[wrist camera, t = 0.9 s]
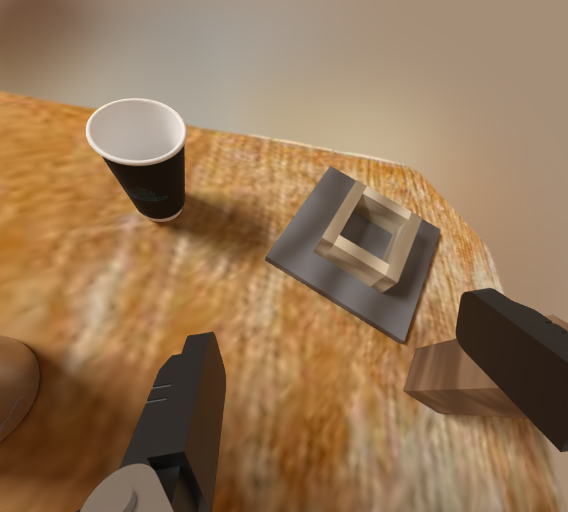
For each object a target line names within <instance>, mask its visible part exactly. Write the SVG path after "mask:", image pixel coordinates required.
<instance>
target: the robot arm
mask: <svg viewBox="0 0 568 512" xmlns="http://www.w3.org/2000/svg"><path fill="white" fill-rule="evenodd" d="M456 338H457V341H458V343H459V345H460V347H461V348H462V349H463V351H464V352H465V353H466V354H467V355H468V356H469V357H470V358H471V359H472V360H473V361H474V362H475V363H476V364H477V365H478V366H479V367H480V368H481V369H482V370H483V371H484V372H485V374H486V375H487V376H488V377H489V378H490V379H491V380H492V381H493V382H494V383H495V384H496V385H497V386H498V387H499V388H500V389H501V390H502V391H503V392H504V393H505V394H506V395H507V396H508V398H509V399H510V400H511V401H512V402H513V403H514V404H515V405H516V406H517V407H518V408H519V409H520V410H521V411H522V412H523V413H524V414H525V415H526V416H527V417H528V418H529V419H530V420H531V422H532V423H533V424H534V425H535V426H536V427H537V428H538V429H539V430H540V431H541V432H542V433H543V434H544V435H545V436H546V437H547V438H548V439H549V440H550V441H551V442H552V443H553V444H554V445H555V447H556V448H557V449H558V450H559V451H560V452H565V451H568V331H567V330H566V329H564V328H562V327H561V326H559V325H558V324H556V323H554V324H553V323H552V321H551V320H550V319H548V318H547V317H545V316H543V315H542V314H540V313H538V312H537V311H535V310H534V309H531V308H529V307H526V306H524V305H521V304H519V303H516V302H514V301H512V300H510V299H509V298H507V297H506V296H504V295H503V294H501V293H499V292H498V291H496V290H495V289H492V288H486V289H480V290H474V291H468V292H464V293H463V294H462V296H461V300H460V306H459V312H458V318H457V325H456ZM39 380H40V371H39V364H38V362H37V359H36V357H35V355H34V354H33V352H32V351H31V350H30V349H29V348H28V347H27V346H26V345H24V344H23V343H21V342H20V341H17V340H14V339H11V338H8V337H4V336H1V335H0V442H1V441H2V440H3V439H5V438H6V437H7V436H8V435H9V434H10V433H11V432H12V431H13V430H14V429H15V428H16V427H17V426H18V425H19V423H20V422H21V421H22V420H23V418H24V417H25V416H26V414H27V413H28V411H29V409H30V407H31V406H32V404H33V402H34V400H35V397H36V394H37V391H38V388H39ZM225 393H226V374H225V368H224V364H223V361H222V357H221V354H220V350H219V347H218V343H217V340H216V336H215V334H214V332H208V333H202V334H195V335H189V336H188V337H187V339H186V342H185V345H184V348H183V351H182V354H178V355H172V356H171V357H170V358H169V359H168V361H167V362H166V363H165V364H164V365H163V366H162V368H161V369H160V370H159V372H158V375H157V377H156V380H155V382H154V385H153V389H152V390H151V392H150V395H149V397H148V399H147V404H145V407H144V409H143V412H142V414H141V417H140V419H139V422H138V424H137V427H136V429H135V432H134V434H133V437H132V439H131V442H130V444H129V446H128V449H127V451H126V454H125V456H124V459H123V461H122V463H121V466H120V468H119V469H118V470H117V471H115V472H114V473H112V474H111V475H110V476H108V477H107V478H106V479H105V480H103V481H102V482H101V483H100V484H99V485H98V486H97V487H96V489H95V490H94V491H93V492H92V493H91V494H90V496H89V497H88V499H87V500H86V502H85V503H84V505H83V507H82V509H80V510H78V511H77V512H212V507H213V498H214V489H215V480H216V472H217V463H218V454H219V445H220V437H221V428H222V419H223V410H224V402H225Z"/></svg>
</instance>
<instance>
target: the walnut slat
mask: <svg viewBox="0 0 568 512" xmlns="http://www.w3.org/2000/svg"><path fill="white" fill-rule="evenodd" d="M545 317H547V318H548V319H550V320H551V321H552V323H553V324H554V323H556V324H558V325H559V326H561V327H562V328H564V329H566V330H567V331H568V324H567V323H566V322H564V321H562V320H561V319H559V318H557V317H556V316H554V315H549V316H545ZM404 392H406V393H407V394H409V395H410V396H412V397H414V398H415V399H417V400H418V401H420V402H421V403H423V404H425V405H426V406H428V407H429V408H431V409H433V410H434V411H436V412H438V413H452V414H466V415H480V416H495V417H509V418H523V419H529V418H528V417H527V416H526V415H525V414H524V413H523V412H522V411H521V410H520V409H519V408H518V407H517V406H516V405H515V404H514V403H513V402H512V401H511V400H510V399H509V398H508V396H507V395H506V394H505V393H504V392H503V391H502V390H501V389H500V388H499V387H498V386H497V385H496V384H495V383H494V382H493V381H492V380H491V379H490V378H489V377H488V376H487V375H486V374H485V372H484V371H483V370H482V369H481V368H480V367H479V366H478V365H477V364H476V363H475V362H474V361H473V360H472V359H471V358H470V357H469V356H468V355H467V354H466V353H465V352H464V351H463V349H462V348H461V347H460V345H459V343H458V341H457V339H453V340H449V341H445V342H441V343H437V344H433V345H429V346H425V347H421V348H417V349H416V350H415V354H414V357H413V360H412V364H411V367H410V371H409V374H408V377H407V381H406V384H405V387H404Z"/></svg>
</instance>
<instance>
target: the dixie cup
mask: <svg viewBox="0 0 568 512" xmlns="http://www.w3.org/2000/svg"><path fill="white" fill-rule="evenodd" d="M86 136H87V139H88V142H89V144H90V145H91V147H92V148H93V149H94V150H95V151H96V152H97V153H98V154H100V155H101V156H102V157H103V159H104V160H105V162H106V163H107V165H108V166H109V168H110V169H111V171H112V172H113V174H114V175H115V177H116V178H117V180H118V181H119V183H120V184H121V186H122V187H123V188H124V190H125V191H126V193H127V194H128V196H129V197H130V199H131V200H132V202H133V203H134V205H135V206H136V208H137V209H138V211H139V212H140V213H142V214H143V215H144V216H145V217H147V218H148V219H150V220H152V221H156V222H166V221H170V220H172V219H174V218H176V217H177V216H178V215H179V214H180V213H181V211H182V208H183V205H184V202H185V157H184V144H185V142H186V138H187V128H186V125H185V122H184V120H183V119H182V117H181V116H180V115H179V114H178V113H177V112H176V111H174V110H173V109H172V108H170V107H168V106H166V105H164V104H162V103H159V102H156V101H153V100H147V99H138V98H132V99H122V100H118V101H114V102H111V103H108V104H106V105H104V106H102V107H101V108H99V109H98V110H97V111H95V112H94V113H93V114H92V116H91V117H90V119H89V120H88V122H87V126H86Z"/></svg>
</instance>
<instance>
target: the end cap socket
mask: <svg viewBox="0 0 568 512" xmlns="http://www.w3.org/2000/svg"><path fill="white" fill-rule="evenodd" d="M439 233H440V229H439V228H437V227H435V226H433V225H432V224H430V223H428V222H427V221H425V220H423V219H422V218H421V217H420V216H418V215H416V214H415V213H413V212H411V211H409V210H408V209H406V208H404V207H402V206H401V205H399V204H397V203H395V202H394V201H392V200H390V199H389V198H387V197H385V196H383V195H382V194H380V193H378V192H376V191H375V190H373V189H371V188H369V187H368V186H366V185H364V184H363V183H361V182H359V181H356V180H354V179H352V178H350V177H349V176H347V175H345V174H343V173H342V172H340V171H338V170H337V169H335V168H333V167H331V166H330V167H329V169H328V170H327V172H326V173H325V174H324V176H323V177H322V179H321V180H320V181H319V183H318V184H317V186H316V187H315V188H314V190H313V191H312V193H311V194H310V195H309V197H308V198H307V200H306V201H305V202H304V204H303V205H302V207H301V208H300V209H299V211H298V212H297V214H296V215H295V216H294V218H293V219H292V221H291V222H290V224H289V225H288V226H287V228H286V229H285V231H284V232H283V233H282V235H281V236H280V238H279V239H278V240H277V242H276V243H275V245H274V246H273V247H272V249H271V250H270V252H269V253H268V254H267V256H266V258H265V260H266V261H267V262H269V263H271V264H272V265H274V266H276V267H277V268H279V269H280V270H282V271H284V272H285V273H287V274H288V275H290V276H292V277H293V278H295V279H297V280H298V281H300V282H301V283H303V284H305V285H306V286H308V287H309V288H311V289H313V290H314V291H316V292H318V293H319V294H321V295H322V296H324V297H326V298H327V299H329V300H330V301H332V302H334V303H335V304H337V305H339V306H340V307H342V308H343V309H345V310H347V311H348V312H350V313H351V314H353V315H355V316H356V317H358V318H360V319H361V320H363V321H364V322H366V323H368V324H369V325H371V326H373V327H374V328H376V329H377V330H379V331H381V332H382V333H384V334H385V335H387V336H389V337H390V338H392V339H394V340H395V341H397V342H398V343H401V342H404V341H405V338H406V335H407V332H408V329H409V326H410V323H411V319H412V316H413V313H414V310H415V307H416V304H417V301H418V298H419V295H420V292H421V289H422V286H423V282H424V279H425V276H426V273H427V270H428V267H429V264H430V261H431V258H432V255H433V252H434V248H435V245H436V242H437V239H438V236H439Z"/></svg>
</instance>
